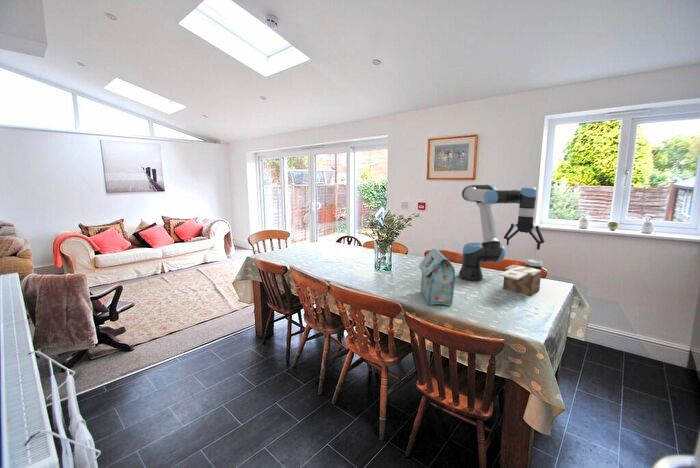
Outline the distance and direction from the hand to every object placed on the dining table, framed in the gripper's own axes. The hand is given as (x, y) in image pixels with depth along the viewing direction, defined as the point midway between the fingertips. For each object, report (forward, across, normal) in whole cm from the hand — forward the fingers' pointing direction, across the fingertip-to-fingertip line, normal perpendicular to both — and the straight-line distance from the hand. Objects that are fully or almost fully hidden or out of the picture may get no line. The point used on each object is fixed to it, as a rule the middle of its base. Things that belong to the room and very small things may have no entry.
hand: (522, 253), depth 179 cm
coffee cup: (+25, +2, +26) cm, 36 cm away
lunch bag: (+25, -33, -37) cm, 55 cm away
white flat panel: (+13, -3, -4) cm, 13 cm away
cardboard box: (+25, -1, +9) cm, 27 cm away
